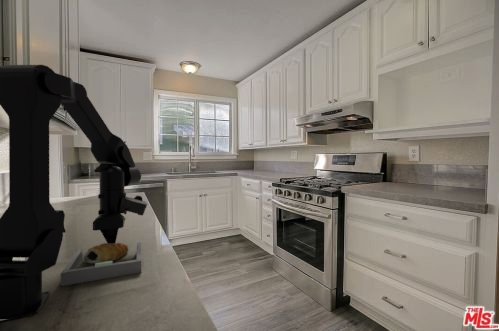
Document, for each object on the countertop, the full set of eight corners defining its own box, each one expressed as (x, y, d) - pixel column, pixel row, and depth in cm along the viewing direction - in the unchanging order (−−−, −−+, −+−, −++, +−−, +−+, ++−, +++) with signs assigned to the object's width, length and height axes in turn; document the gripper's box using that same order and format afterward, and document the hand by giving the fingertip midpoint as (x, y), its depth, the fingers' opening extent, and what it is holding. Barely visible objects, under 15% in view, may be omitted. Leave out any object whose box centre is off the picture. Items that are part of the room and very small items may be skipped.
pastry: (116, 249, 64) (116, 235, 64) (135, 253, 62) (135, 239, 62) (81, 262, 56) (81, 246, 56) (100, 268, 53) (101, 251, 53)
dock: (141, 272, 51) (141, 257, 51) (60, 286, 45) (60, 269, 45) (141, 251, 63) (141, 240, 63) (77, 260, 57) (77, 247, 57)
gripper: (146, 192, 58) (146, 255, 58) (144, 184, 75) (144, 233, 75) (92, 194, 53) (92, 263, 53) (103, 186, 70) (103, 238, 70)
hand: (112, 247), depth 63 cm, fingers closed
